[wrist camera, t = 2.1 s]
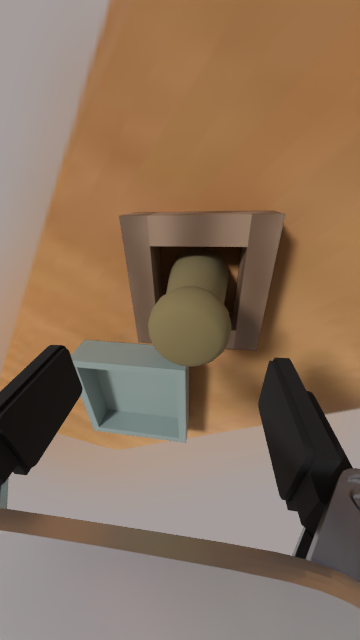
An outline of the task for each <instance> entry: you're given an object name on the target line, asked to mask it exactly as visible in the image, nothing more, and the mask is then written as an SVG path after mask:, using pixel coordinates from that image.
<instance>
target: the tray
mask: <svg viewBox="0 0 360 640" xmlns="http://www.w3.org/2000/svg"><path fill="white" fill-rule="evenodd" d="M71 358H72V361H73V363H74V366H75V369H76V371H77V374H78V377H79V379H80V382H81V385H82V388H83V390H82V394H81V395H80V396H81V398H82V401H83V403H84V406H85V408H86V411H87V413H88V416H89V418H90V421H91V423H92V426H93V428H94V430H95V431H102V432H109V433H117V434H124V435H132V436H139V437H147V438H154V439H161V440H169V441H176V442H185V443H186V439H187V431H188V422H189V366H181V365H178V364H175V363H172V362H170V361H168V360H167V359H165V358H164V357H162V356H161V355H160V353H159V352H158V351H157V350H156V349H155V347H154V345H146V344H133V343H119V342H105V341H91V340H84V341H83V342H82V343H81V345H80V346H79V347H78V348H77V349H76V350H75V351H74V352H73V353H72V355H71Z"/></svg>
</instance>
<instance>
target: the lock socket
mask: <svg viewBox="0 0 360 640" xmlns="http://www.w3.org/2000/svg"><path fill="white" fill-rule="evenodd" d="M284 217H285V214H284V213H280V212H276V211H217V212H151V213H131V214H126V215H122V216H119V218H120V225H121V231H122V238H123V244H124V251H125V257H126V264H127V270H128V277H129V283H130V290H131V296H132V303H133V309H134V316H135V322H136V329H137V335H138V342H141V343H152V341H151V339H150V337H149V328H148V323H149V318H150V314H151V311H152V309H153V307H154V306H155V304H156V303H157V302H158V300H159V299H160V298H161V297H162V296H164V294H163V280H162V265H161V250H160V246H192V247H241V254H240V262H239V270H238V278H237V286H236V294H235V302H234V310H233V313H229V317H230V321H231V333H230V339H229V342H228V344H227V346H226V347H225V349H239V350H252V351H256V350H257V345H258V340H259V336H260V331H261V326H262V321H263V317H264V312H265V307H266V303H267V298H268V293H269V288H270V284H271V279H272V274H273V269H274V265H275V260H276V255H277V251H278V246H279V241H280V236H281V232H282V227H283V222H284Z"/></svg>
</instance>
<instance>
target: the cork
mask: <svg viewBox="0 0 360 640" xmlns="http://www.w3.org/2000/svg"><path fill="white" fill-rule="evenodd" d="M228 283H229V271H228V266H227V264H226V263H225V261H224V259H223V258H222V257H221V256H220V255H219V254H217V253H216V252H215V251H213V250H210V249H207V248H192V249H189V250H186V251H184V252H183V253H182V254H180V255H179V256H178V257H177V258H176V260H175V261H174V262H173V264H172V267H171V271H170V275H169V281H168V286H167V292H166V294H165V295H164V296H162V297H161V298H160V299H159V300H158V302H157V303H156V304H155V306H154V307H153V309H152V311H151V314H150V318H149V323H148V328H149V337H150V339H151V341H152V343H153V345H154V347H155V349H156V350H157V351H158V352H159V353H160V355H161V356H162V357H164V358H165V359H167V360H168V361H170V362H172V363H175V364H178V365H181V366H189V367H194V366H201V365H204V364H207V363H209V362H211V361H213V360H214V359H215V358H216V357H218V356H219V355H220V354H221V353H222V352H223V351H224V349H225V347H226V346H227V344H228V342H229V339H230V333H231V321H230V317H229V313H228V310H227V309H226V307H225V306H224V301H225V297H226V292H227V288H228Z"/></svg>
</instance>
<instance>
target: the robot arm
mask: <svg viewBox="0 0 360 640" xmlns="http://www.w3.org/2000/svg"><path fill="white" fill-rule="evenodd" d="M82 390H83V388H82V385H81V382H80V379H79V377H78V374H77V371H76V369H75V366H74V363H73V361H72V358H71V355H70V353H69V350H68V349H66V347H65V346H62V345H50V346H48V347H47V348H46V349H45V350H44V351H43V352H42V353H41V354H40V355H39V356H38V357H36V358H35V359H34V360H33V361H32V362H31V363H30V364H29V365H28V366H27V367H26V368H25V369H24V370H23V371H22V372H21V373H20V374H18V375H17V376H16V377H15V378H14V379H13V380H12V381H11V382H10V383H9V384H8V385H7V386H6V387H5V388H4V389H3V390H2V391H0V640H360V469H356V468H355V469H354V468H352V466H351V464H350V462H349V460H348V458H347V456H346V454H345V453H344V451H343V449H342V447H341V445H340V443H339V441H338V439H337V437H336V436H335V434H334V432H333V430H332V428H331V426H330V424H329V422H328V421H327V419H326V417H325V415H324V413H323V411H322V409H321V407H320V406H319V404H318V402H317V400H316V398H315V396H314V395H313V394H312V393H311V392H309V391H306V389H305V387H304V385H303V384H302V382H301V380H300V378H299V376H298V374H297V372H296V370H295V368H294V366H293V364H292V362H291V360H290V359H289V358H274V360H273V361H269V364H268V368H267V371H266V375H265V379H264V383H263V387H262V391H261V394H260V398H259V412H260V416H261V420H262V424H263V428H264V432H265V436H266V441H267V445H268V449H269V453H270V457H271V461H272V466H273V470H274V474H275V479H276V483H277V487H278V491H279V494H280V497H281V499H282V500H286V504H287V508H288V510H292V511H298V514H299V517H300V521H301V524H302V525H303V526H304V528H303V530H302V533H301V535H300V537H299V540H298V542H297V545H296V547H295V550H294V552H293V555H292V556H290V555H286V554H281V553H277V552H272V551H266V550H260V549H255V548H250V547H245V546H239V545H234V544H227V543H222V542H216V541H210V540H204V539H197V538H191V537H185V536H179V535H172V534H166V533H160V532H154V531H147V530H141V529H134V528H128V527H122V526H115V525H109V524H102V523H96V522H89V521H83V520H76V519H70V518H64V517H57V516H50V515H43V514H37V513H30V512H23V511H17V510H10V509H7V496H8V495H7V494H8V477H9V476H10V474H11V473H12V472H14V473H15V474H21V475H27V474H28V472H29V471H30V469H31V468H32V467H33V466H35V465H36V464H37V463H38V461H39V460H40V458H41V457H42V455H43V453H44V452H45V450H46V448H47V447H48V446H49V444H50V443H51V441H52V439H53V438H54V436H55V435H56V433H57V432H58V430H59V428H60V427H61V425H62V424H63V422H64V421H65V419H66V417H67V416H68V414H69V413H70V411H71V410H72V408H73V406H74V405H75V403H76V402H77V400H78V399H79V397H80V395H81V394H82Z"/></svg>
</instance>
